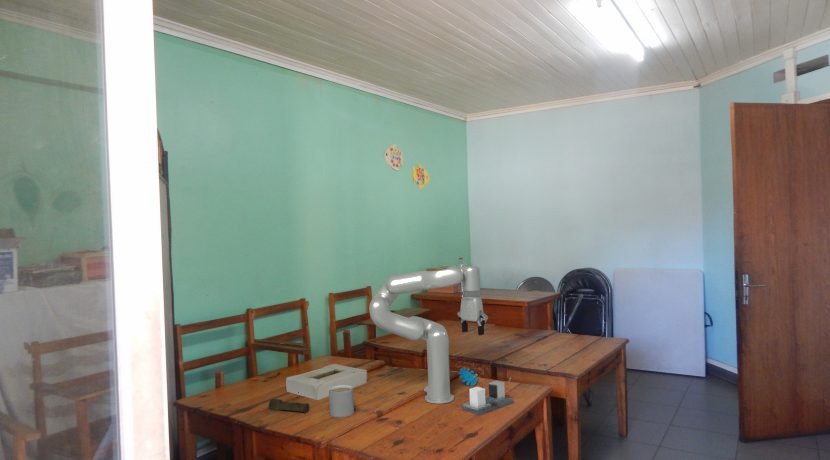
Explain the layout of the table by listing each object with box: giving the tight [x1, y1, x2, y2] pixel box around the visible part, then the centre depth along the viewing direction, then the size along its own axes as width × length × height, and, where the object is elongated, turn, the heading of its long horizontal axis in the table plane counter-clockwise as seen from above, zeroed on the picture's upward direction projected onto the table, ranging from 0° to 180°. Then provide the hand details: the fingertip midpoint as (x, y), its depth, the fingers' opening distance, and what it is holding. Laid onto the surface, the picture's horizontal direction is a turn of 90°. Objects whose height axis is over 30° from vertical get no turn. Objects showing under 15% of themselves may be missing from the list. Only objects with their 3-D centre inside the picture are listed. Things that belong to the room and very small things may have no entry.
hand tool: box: [268, 398, 310, 415], centre depth 219 cm, size 19×4×5 cm, turn 68°
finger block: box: [469, 386, 487, 407], centre depth 213 cm, size 4×5×7 cm
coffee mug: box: [328, 385, 355, 418], centre depth 216 cm, size 13×10×10 cm
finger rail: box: [461, 380, 514, 416], centre depth 216 cm, size 10×21×8 cm, turn 130°
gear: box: [458, 366, 478, 387], centre depth 249 cm, size 11×6×10 cm
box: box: [285, 363, 368, 401], centre depth 251 cm, size 23×8×32 cm
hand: (472, 333), depth 227 cm, fingers open, 9 cm apart
